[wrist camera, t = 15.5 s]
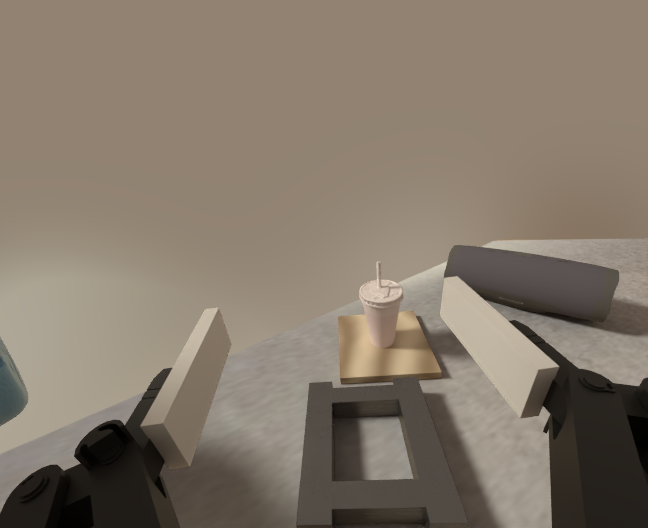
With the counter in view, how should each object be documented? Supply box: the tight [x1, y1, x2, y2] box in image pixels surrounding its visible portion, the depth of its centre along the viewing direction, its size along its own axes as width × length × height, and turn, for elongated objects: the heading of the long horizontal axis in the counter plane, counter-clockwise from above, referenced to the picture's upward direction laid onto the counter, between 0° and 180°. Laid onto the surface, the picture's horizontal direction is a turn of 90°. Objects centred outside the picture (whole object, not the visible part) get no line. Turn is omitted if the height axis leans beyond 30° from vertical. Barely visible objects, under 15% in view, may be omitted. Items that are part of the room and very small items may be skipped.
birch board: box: [338, 311, 442, 384], centre depth 43 cm, size 14×14×1 cm
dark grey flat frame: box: [296, 377, 469, 528], centre depth 28 cm, size 14×14×3 cm
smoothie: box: [359, 261, 403, 348], centre depth 39 cm, size 6×6×14 cm
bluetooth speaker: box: [444, 245, 619, 322], centre depth 47 cm, size 23×9×10 cm, turn 48°
